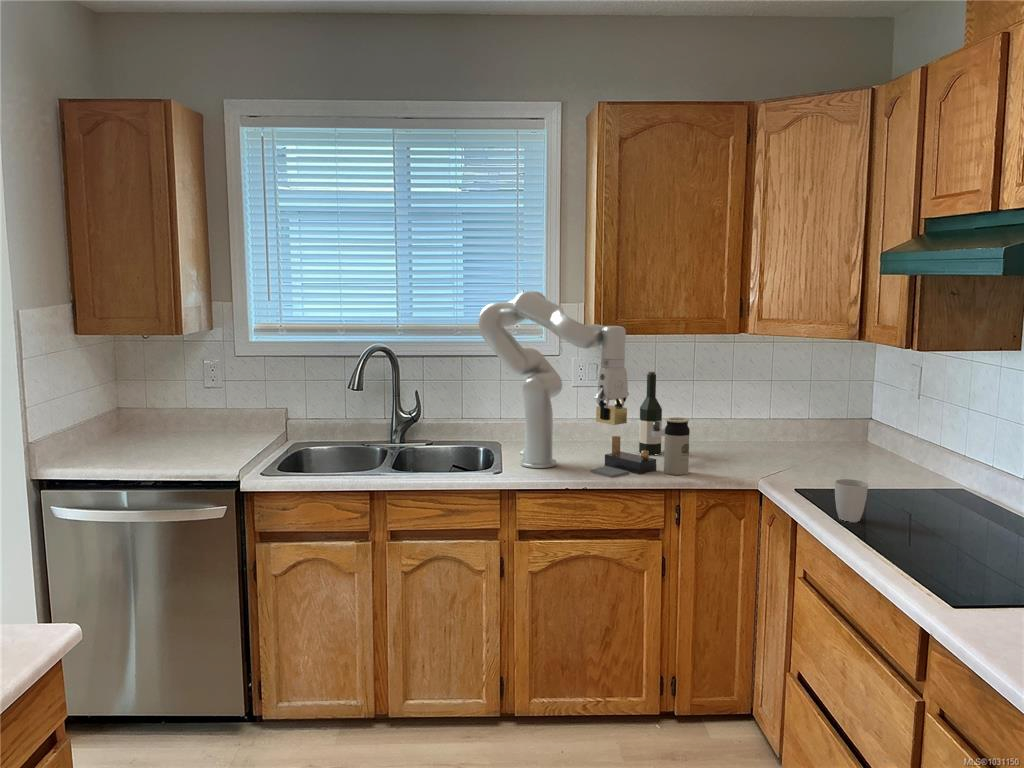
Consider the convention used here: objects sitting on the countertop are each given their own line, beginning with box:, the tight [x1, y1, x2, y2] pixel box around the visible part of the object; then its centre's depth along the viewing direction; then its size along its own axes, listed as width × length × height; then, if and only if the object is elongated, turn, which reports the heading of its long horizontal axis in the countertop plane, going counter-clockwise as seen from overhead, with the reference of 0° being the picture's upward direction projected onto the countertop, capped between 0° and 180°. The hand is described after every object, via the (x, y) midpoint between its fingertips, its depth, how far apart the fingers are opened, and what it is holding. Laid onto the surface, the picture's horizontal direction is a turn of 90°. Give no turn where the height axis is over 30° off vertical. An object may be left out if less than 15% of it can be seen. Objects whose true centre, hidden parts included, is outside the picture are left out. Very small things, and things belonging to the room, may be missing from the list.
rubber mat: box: [589, 465, 630, 478], centre depth 265 cm, size 10×8×1 cm
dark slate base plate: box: [604, 435, 657, 475], centre depth 271 cm, size 16×8×10 cm, turn 39°
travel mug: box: [663, 416, 691, 476], centre depth 264 cm, size 8×8×18 cm
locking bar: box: [651, 422, 665, 437], centre depth 282 cm, size 2×16×5 cm, turn 129°
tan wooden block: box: [595, 404, 628, 426], centre depth 263 cm, size 8×6×5 cm
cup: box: [834, 478, 869, 523], centre depth 212 cm, size 8×8×10 cm
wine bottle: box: [638, 371, 663, 456], centre depth 294 cm, size 8×8×30 cm
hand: (611, 418), depth 263 cm, fingers closed on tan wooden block, 6 cm apart
